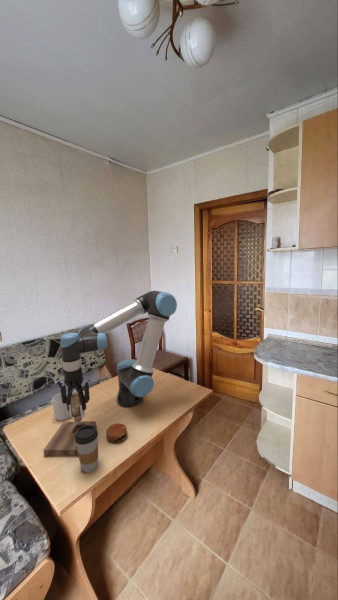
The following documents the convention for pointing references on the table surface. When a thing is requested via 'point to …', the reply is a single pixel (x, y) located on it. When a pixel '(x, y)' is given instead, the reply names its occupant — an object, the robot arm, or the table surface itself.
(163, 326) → the robot arm
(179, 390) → the table surface
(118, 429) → the burger
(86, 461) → the coffee cup
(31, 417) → the table surface
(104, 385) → the table surface
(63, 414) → the mug
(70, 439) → the board
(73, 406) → the peg
